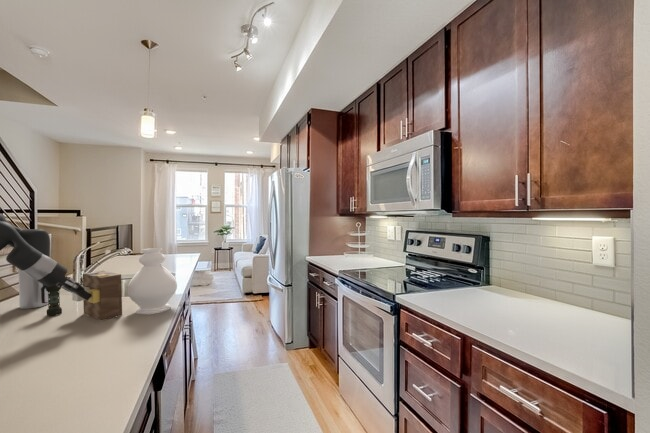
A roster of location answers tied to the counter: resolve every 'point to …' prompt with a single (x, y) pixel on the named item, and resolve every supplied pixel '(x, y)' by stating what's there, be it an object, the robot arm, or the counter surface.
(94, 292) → the mustard button
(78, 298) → the ivory button
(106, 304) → the brown wooden block
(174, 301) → the counter surface
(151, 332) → the counter surface
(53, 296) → the grenade
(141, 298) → the decorative vase
